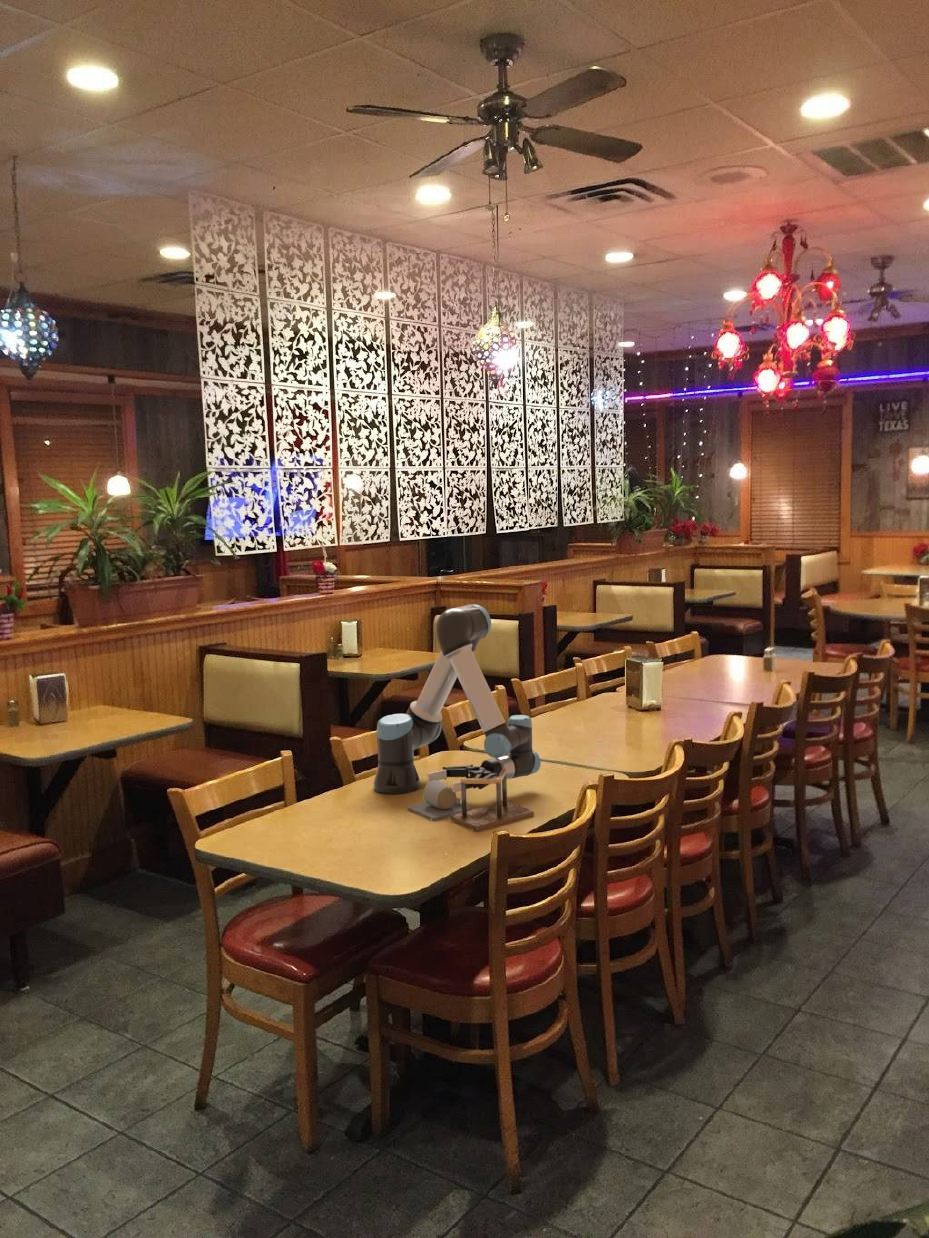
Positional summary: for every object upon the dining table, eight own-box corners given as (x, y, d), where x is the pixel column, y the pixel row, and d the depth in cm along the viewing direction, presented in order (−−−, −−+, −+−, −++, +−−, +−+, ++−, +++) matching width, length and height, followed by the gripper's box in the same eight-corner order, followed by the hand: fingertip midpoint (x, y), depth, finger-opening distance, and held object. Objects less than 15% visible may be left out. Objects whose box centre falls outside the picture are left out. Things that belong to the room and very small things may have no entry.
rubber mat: (407, 809, 302) (407, 807, 302) (445, 800, 311) (445, 797, 310) (433, 820, 291) (433, 818, 291) (471, 810, 299) (471, 808, 299)
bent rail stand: (450, 820, 291) (448, 777, 289) (506, 805, 303) (505, 764, 302) (476, 831, 281) (475, 787, 279) (533, 816, 293) (533, 773, 291)
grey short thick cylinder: (438, 813, 295) (438, 787, 295) (422, 806, 302) (422, 782, 301) (466, 806, 302) (466, 781, 301) (450, 800, 308) (450, 775, 308)
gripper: (521, 790, 302) (464, 804, 290) (474, 773, 322) (418, 785, 310) (521, 766, 301) (463, 779, 289) (473, 750, 321) (417, 762, 309)
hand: (440, 782), depth 300 cm, fingers open, 13 cm apart
